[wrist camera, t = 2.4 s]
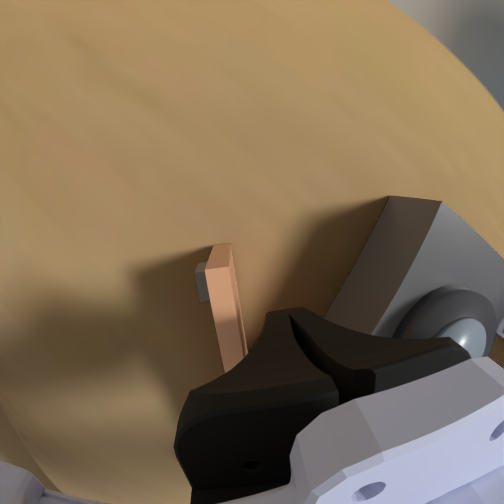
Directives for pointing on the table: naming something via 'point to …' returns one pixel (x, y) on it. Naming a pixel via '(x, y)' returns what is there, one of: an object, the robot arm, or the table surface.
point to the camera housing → (424, 279)
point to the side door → (223, 303)
